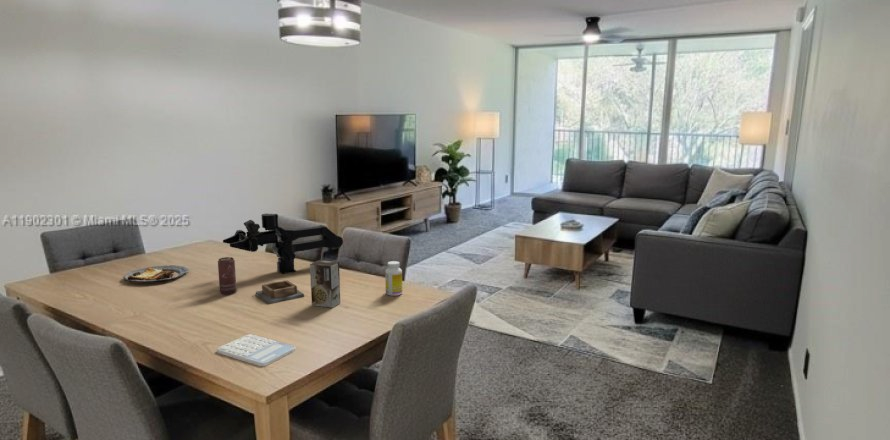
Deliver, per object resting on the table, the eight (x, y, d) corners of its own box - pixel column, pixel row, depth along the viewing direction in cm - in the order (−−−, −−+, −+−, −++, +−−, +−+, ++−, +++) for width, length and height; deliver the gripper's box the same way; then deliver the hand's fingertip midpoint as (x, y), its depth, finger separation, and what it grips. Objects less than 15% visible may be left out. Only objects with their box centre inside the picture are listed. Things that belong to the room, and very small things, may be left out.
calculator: (250, 338, 172) (250, 332, 172) (297, 351, 163) (297, 345, 163) (215, 353, 161) (214, 347, 160) (263, 369, 151) (263, 362, 151)
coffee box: (341, 302, 204) (340, 261, 201) (332, 308, 198) (331, 266, 195) (320, 300, 207) (318, 259, 204) (310, 305, 201) (309, 263, 198)
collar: (289, 287, 221) (289, 278, 220) (304, 296, 210) (303, 286, 210) (255, 294, 213) (255, 284, 212) (268, 303, 202) (268, 293, 201)
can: (239, 290, 217) (237, 256, 214) (232, 295, 211) (229, 261, 208) (225, 289, 217) (222, 256, 215) (217, 294, 211) (214, 260, 208)
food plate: (168, 286, 221) (167, 277, 221) (112, 285, 222) (111, 277, 221) (197, 270, 246) (196, 263, 245) (147, 270, 246) (146, 262, 246)
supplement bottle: (405, 292, 217) (405, 261, 214) (397, 297, 211) (396, 265, 208) (390, 290, 219) (390, 259, 217) (382, 294, 213) (382, 263, 211)
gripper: (254, 216, 240) (218, 221, 231) (270, 223, 226) (232, 228, 216) (256, 241, 242) (220, 246, 233) (271, 249, 228) (234, 255, 218)
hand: (226, 243), depth 225 cm, fingers open, 9 cm apart
